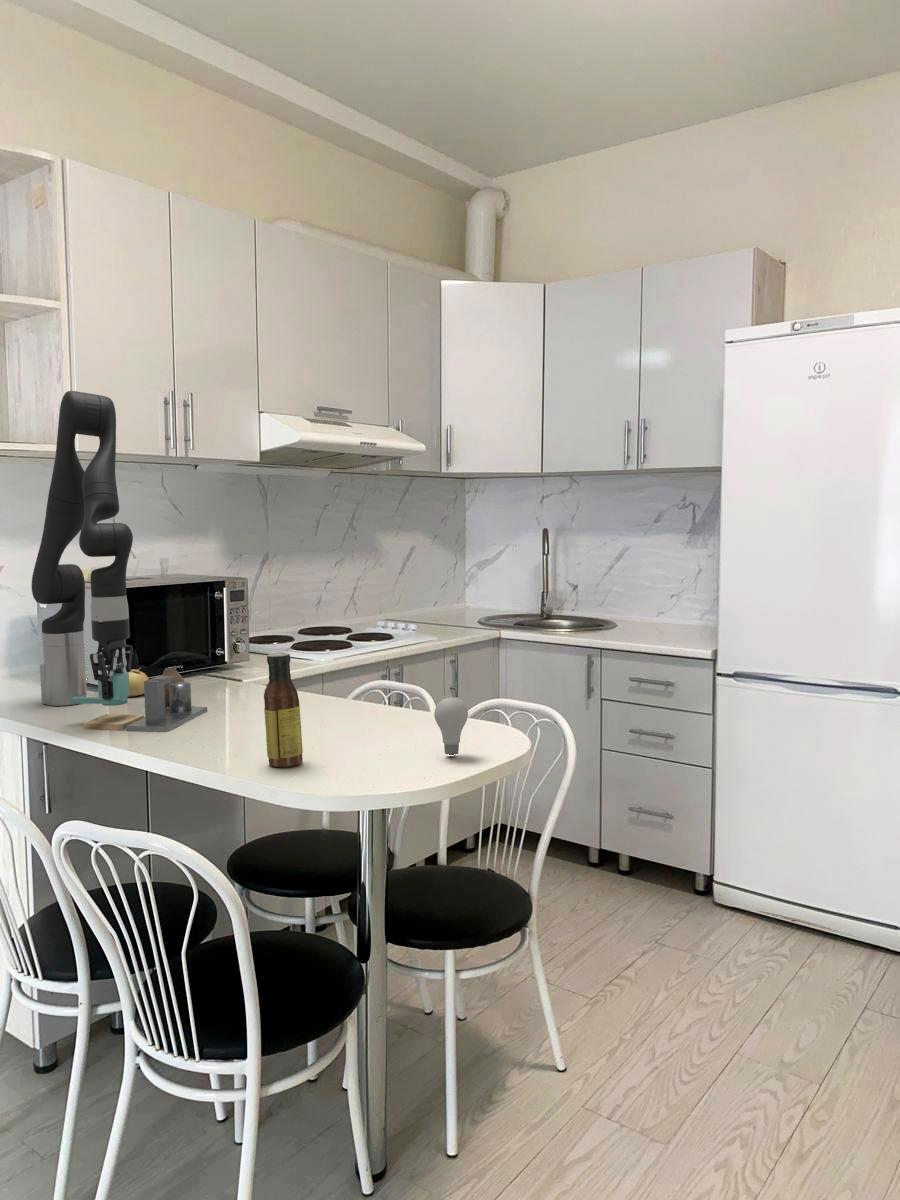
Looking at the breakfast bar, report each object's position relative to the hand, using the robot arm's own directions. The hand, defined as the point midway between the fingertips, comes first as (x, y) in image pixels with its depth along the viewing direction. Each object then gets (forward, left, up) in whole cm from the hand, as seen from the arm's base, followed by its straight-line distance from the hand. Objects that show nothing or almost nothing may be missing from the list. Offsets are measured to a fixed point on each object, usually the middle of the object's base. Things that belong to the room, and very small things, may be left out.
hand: (114, 696), depth 196 cm
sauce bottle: (+47, -26, -6) cm, 54 cm away
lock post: (+10, +5, -6) cm, 13 cm away
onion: (-12, +31, -6) cm, 34 cm away
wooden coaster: (0, 0, -6) cm, 6 cm away
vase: (+3, +21, -6) cm, 22 cm away
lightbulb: (+76, -18, -6) cm, 78 cm away
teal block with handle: (-4, 0, -2) cm, 4 cm away
